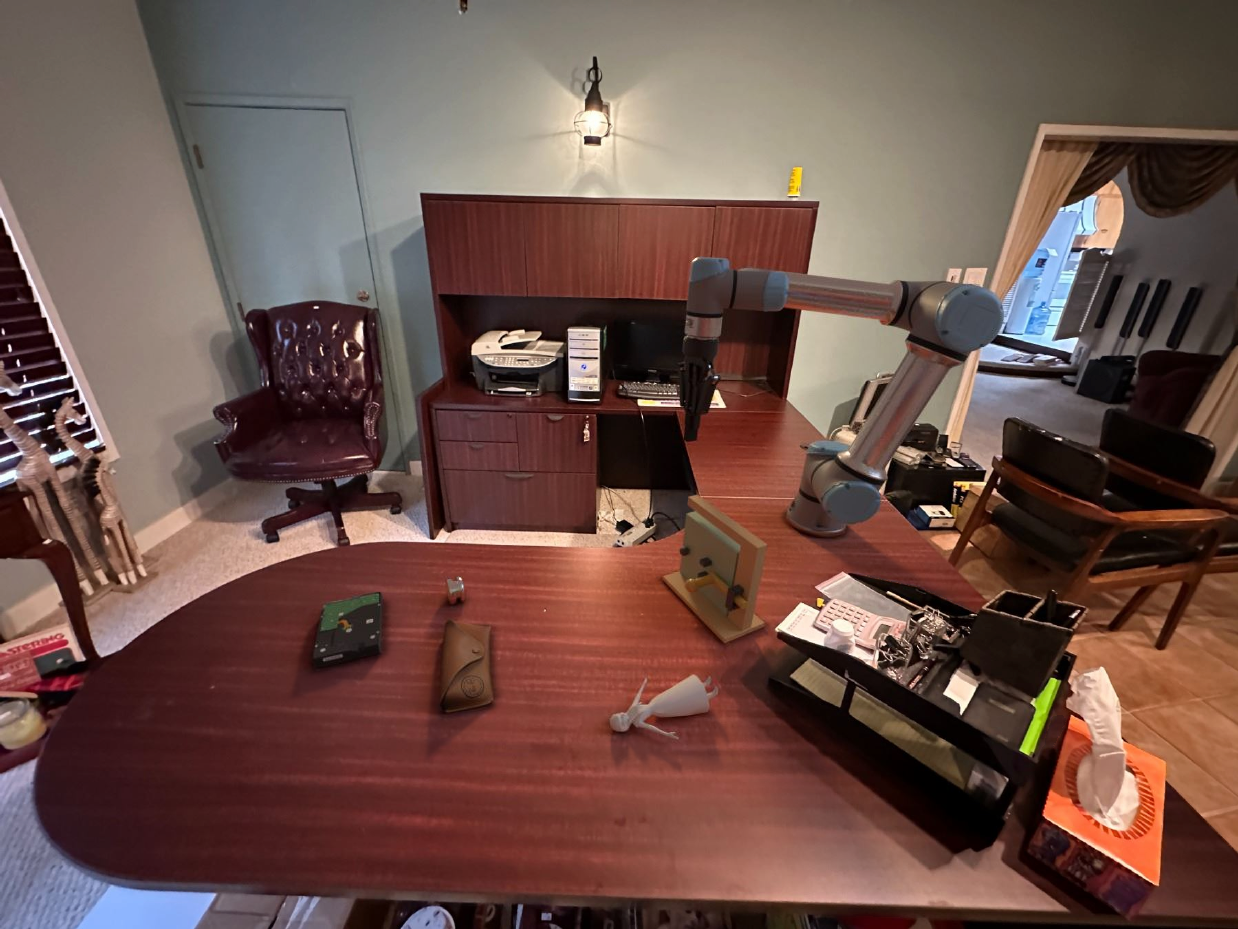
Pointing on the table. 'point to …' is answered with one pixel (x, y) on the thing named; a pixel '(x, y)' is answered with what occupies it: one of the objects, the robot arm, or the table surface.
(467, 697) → the sunglasses case
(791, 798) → the table surface
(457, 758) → the table surface
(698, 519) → the door
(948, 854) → the table surface
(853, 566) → the table surface
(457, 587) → the grooved metal pulley
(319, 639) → the disk drive
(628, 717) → the woman figurine
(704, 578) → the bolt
